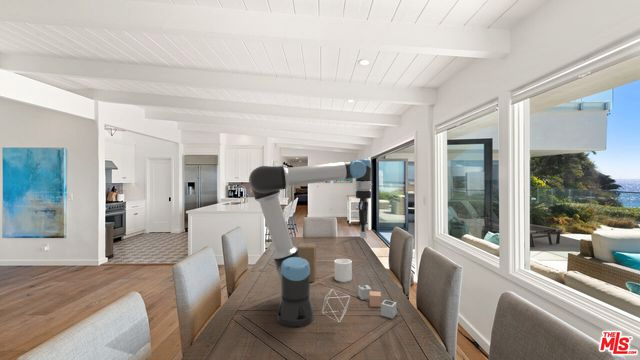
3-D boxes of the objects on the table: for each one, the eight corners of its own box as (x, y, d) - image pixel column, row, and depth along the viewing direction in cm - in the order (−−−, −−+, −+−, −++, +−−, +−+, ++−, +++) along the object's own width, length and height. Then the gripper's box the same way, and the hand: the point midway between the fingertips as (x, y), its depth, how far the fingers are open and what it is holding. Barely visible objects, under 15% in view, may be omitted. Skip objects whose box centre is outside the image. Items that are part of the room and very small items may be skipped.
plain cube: (380, 307, 124) (380, 296, 124) (369, 306, 125) (369, 295, 125) (380, 302, 129) (380, 291, 129) (369, 301, 130) (369, 291, 130)
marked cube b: (371, 299, 133) (371, 288, 133) (361, 300, 132) (361, 288, 132) (367, 295, 138) (367, 284, 138) (358, 295, 137) (358, 284, 137)
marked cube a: (392, 319, 114) (392, 306, 114) (380, 315, 117) (380, 303, 117) (396, 314, 118) (396, 301, 118) (385, 311, 121) (385, 298, 121)
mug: (353, 281, 155) (353, 263, 155) (335, 282, 155) (335, 263, 155) (349, 274, 168) (349, 257, 168) (333, 274, 167) (333, 257, 167)
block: (316, 276, 164) (316, 242, 164) (314, 282, 154) (314, 246, 154) (299, 276, 165) (299, 242, 165) (296, 282, 155) (296, 246, 155)
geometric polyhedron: (317, 318, 114) (317, 296, 114) (326, 307, 124) (326, 287, 124) (346, 324, 110) (346, 301, 110) (353, 312, 120) (353, 291, 120)
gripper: (368, 190, 130) (368, 241, 130) (373, 190, 142) (373, 236, 142) (352, 190, 132) (352, 240, 132) (358, 189, 145) (358, 235, 145)
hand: (363, 237), depth 137 cm, fingers closed
